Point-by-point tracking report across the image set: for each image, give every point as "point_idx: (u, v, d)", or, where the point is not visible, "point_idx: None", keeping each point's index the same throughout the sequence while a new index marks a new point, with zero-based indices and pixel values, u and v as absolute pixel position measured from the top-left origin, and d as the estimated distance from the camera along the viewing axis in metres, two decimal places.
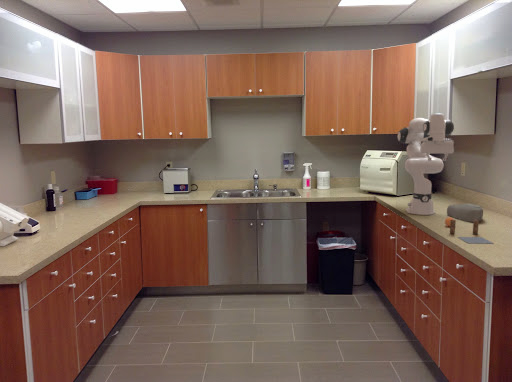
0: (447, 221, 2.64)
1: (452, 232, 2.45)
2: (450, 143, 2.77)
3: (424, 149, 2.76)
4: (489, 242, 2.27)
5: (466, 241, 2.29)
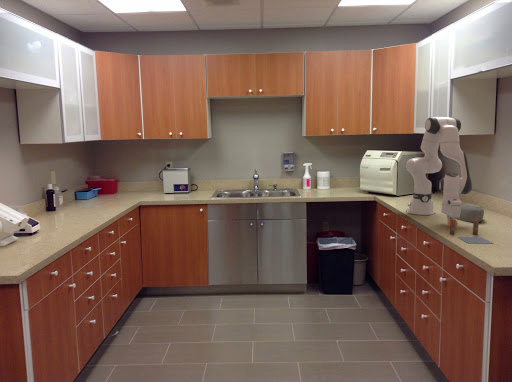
0: (449, 225, 2.60)
1: (452, 232, 2.45)
2: None
3: None
4: (489, 242, 2.27)
5: (466, 241, 2.29)
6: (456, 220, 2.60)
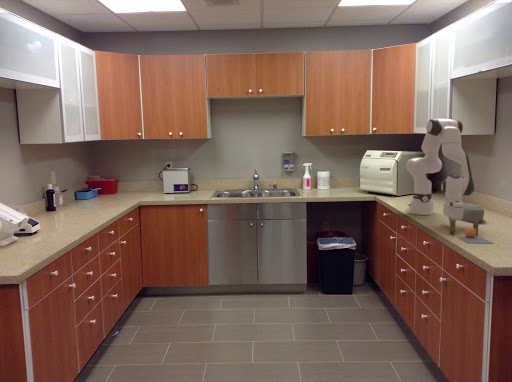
0: None
1: (452, 232, 2.45)
2: None
3: None
4: (489, 242, 2.27)
5: (466, 241, 2.29)
6: (474, 235, 2.37)
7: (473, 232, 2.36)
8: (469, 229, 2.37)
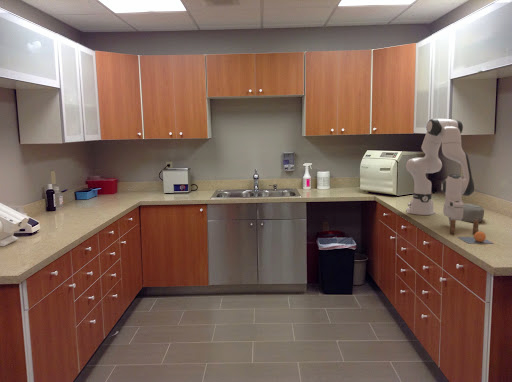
0: (477, 238, 2.27)
1: (452, 232, 2.45)
2: None
3: None
4: (489, 242, 2.27)
5: (466, 241, 2.29)
6: None
7: None
8: None
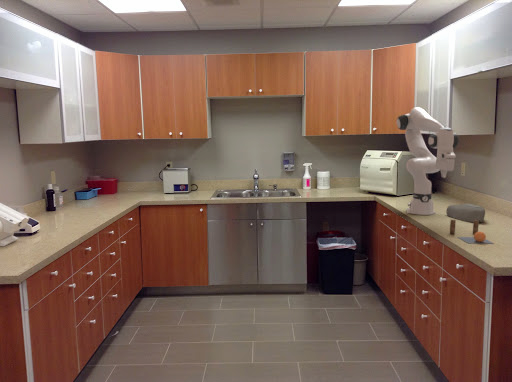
0: (477, 238, 2.27)
1: (452, 232, 2.45)
2: None
3: None
4: (489, 242, 2.27)
5: (466, 241, 2.29)
6: None
7: None
8: None
